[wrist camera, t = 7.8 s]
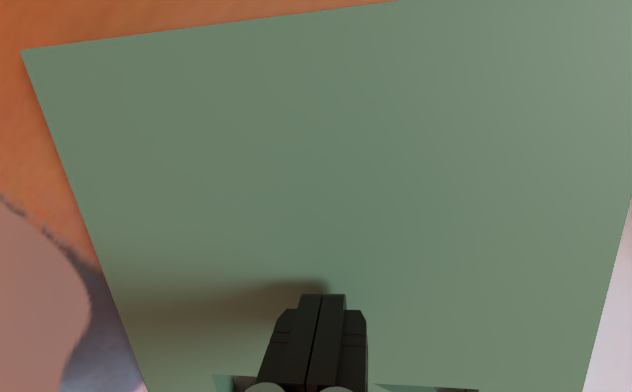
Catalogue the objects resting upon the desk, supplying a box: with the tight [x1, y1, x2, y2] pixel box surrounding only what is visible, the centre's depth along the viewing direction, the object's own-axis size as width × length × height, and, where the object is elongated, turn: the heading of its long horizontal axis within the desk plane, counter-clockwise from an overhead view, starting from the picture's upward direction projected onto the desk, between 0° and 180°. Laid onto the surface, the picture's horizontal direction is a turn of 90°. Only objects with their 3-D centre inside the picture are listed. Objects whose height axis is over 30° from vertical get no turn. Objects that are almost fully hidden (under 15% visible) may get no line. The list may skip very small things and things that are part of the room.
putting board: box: [19, 0, 632, 392], centre depth 15 cm, size 26×18×2 cm
